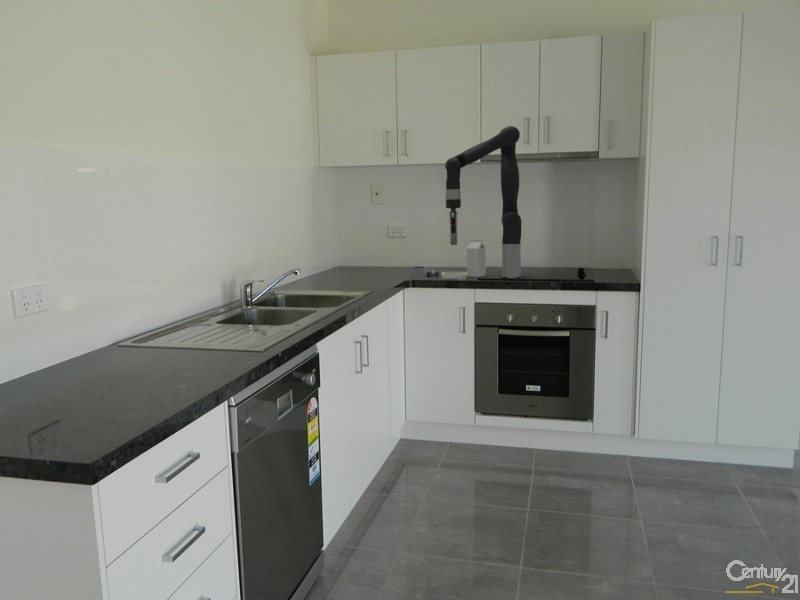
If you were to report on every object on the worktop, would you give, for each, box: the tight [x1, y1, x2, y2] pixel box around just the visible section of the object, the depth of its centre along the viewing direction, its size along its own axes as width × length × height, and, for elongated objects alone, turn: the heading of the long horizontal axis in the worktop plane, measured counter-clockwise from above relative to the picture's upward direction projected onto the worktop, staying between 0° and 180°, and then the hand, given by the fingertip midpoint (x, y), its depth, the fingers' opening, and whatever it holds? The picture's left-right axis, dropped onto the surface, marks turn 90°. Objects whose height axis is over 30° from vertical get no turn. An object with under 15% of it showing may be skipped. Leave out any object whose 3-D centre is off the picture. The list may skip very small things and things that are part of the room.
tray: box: [440, 271, 468, 282], centre depth 343 cm, size 13×12×3 cm
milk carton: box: [466, 239, 486, 278], centre depth 350 cm, size 7×7×19 cm
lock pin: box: [449, 220, 458, 246], centre depth 339 cm, size 3×3×12 cm
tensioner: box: [411, 266, 441, 279], centre depth 345 cm, size 14×10×6 cm
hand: (453, 232), depth 339 cm, fingers closed on lock pin, 3 cm apart
